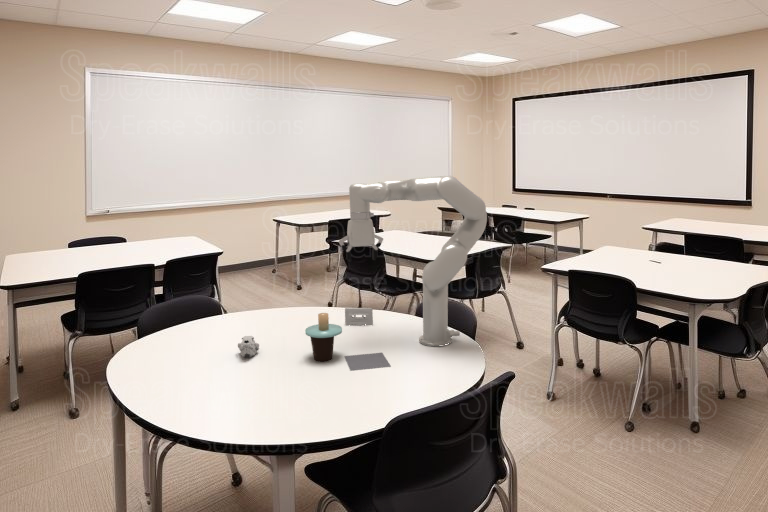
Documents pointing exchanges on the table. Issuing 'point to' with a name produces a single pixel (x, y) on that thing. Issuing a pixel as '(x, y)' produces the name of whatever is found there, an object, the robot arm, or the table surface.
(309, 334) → the lid
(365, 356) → the mat
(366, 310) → the cassette
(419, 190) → the robot arm
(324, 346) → the coffee mug
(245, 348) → the skull
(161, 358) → the table surface
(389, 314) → the table surface
